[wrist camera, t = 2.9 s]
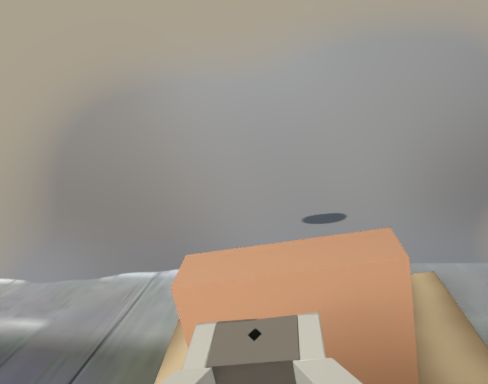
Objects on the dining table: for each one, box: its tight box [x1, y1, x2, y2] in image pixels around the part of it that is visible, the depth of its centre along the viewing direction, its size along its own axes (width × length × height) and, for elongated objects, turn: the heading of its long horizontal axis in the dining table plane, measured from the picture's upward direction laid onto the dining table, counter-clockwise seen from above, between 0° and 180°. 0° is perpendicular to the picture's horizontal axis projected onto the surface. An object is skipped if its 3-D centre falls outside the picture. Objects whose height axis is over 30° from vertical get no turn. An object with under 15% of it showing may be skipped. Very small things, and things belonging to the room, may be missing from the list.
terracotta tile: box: [171, 227, 419, 384], centre depth 20 cm, size 10×3×13 cm, turn 85°
